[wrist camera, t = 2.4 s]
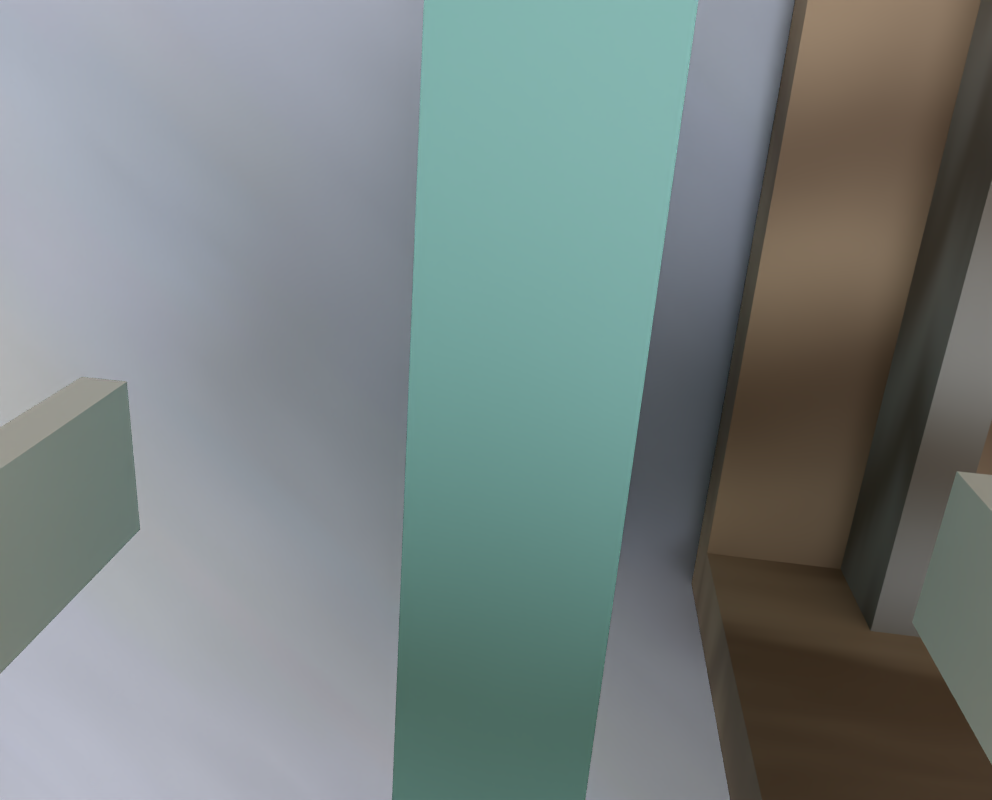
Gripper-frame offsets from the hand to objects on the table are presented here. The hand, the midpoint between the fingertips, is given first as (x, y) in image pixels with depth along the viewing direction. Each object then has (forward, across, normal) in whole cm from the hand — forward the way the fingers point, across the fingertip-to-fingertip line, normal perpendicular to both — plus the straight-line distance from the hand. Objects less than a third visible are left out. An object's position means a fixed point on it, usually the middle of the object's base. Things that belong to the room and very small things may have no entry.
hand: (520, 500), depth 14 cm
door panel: (+12, 0, 0) cm, 12 cm away
